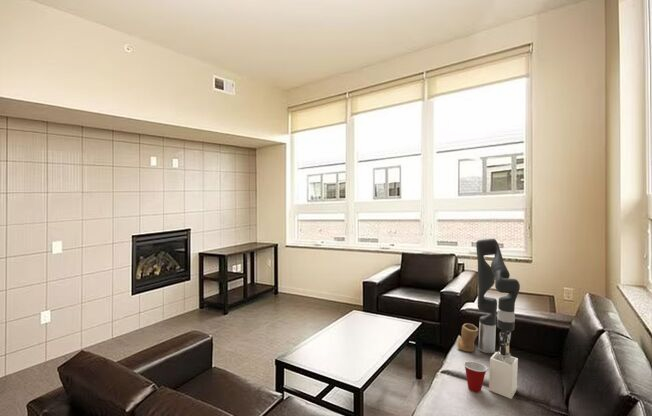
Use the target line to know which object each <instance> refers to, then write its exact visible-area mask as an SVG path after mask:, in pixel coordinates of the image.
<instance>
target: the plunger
mask: <svg viewBox="0 0 652 416" xmlns="http://www.w3.org/2000/svg"><path fill="white" fill-rule="evenodd" d="M502 345H503V344H502ZM497 352H498V355H500V356H502V357H503V358H502V362H505V363H506V358H509V357H511V356H512V354H511V353H510V344H509V345H507V344H506V355H501V354H500V352H501V347H499V350H498V351H497Z"/></svg>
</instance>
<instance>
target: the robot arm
mask: <svg viewBox="0 0 652 416" xmlns="http://www.w3.org/2000/svg"><path fill="white" fill-rule="evenodd" d="M475 246H476V247H475V248H476V259H477V286H478V287H477V288H478V289H477V309H478V310H479V311H480V312H483V313H489V314H486V315H482V316H480V317H479V322H478V323H479V324H478V325H479V327H478V350H479V351H481V352H482V353H485V354H494V353H495V352H496V330H497V328H498V329H499V330H501V331H499V335H498V347H499V348H500V347H501V352H500V354H501V355H506V344H507V345H509V346H510V342H511V337H512V331H514V330H515V323H516V321H515V319H516V316H515V315H516V314H515V310H516V309H515V306H516V305H515V303H516V300H517V298H518V295H519V292H520V289H521V288H520V287H521V285H520V282H519V281H518V279H516V278H510V275H511V274H510V272H509V270H508V267H507V265H506V263H505V262H504V258H503V254H502V252H501V249H500V248H501V247H500V245H499V242H498V241H497V240H496V239H495V238H484V239H483V238H482V239H477V240H476V245H475ZM493 255H494V257H493V259H492V261H491V264H488V262H487V261H486V259H485V256H493ZM493 286H495V290H496V291H497V292H499V293H503V294H507V295H504V296H500V297H499V298H498V300H497V299H496V298H494V297H490V296H489V297H487V296H485V294H486V293H487V292H488V291H490V289H492V287H493ZM502 344H503V345H502Z"/></svg>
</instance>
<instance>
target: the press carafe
mask: <svg viewBox="0 0 652 416" xmlns="http://www.w3.org/2000/svg"><path fill="white" fill-rule="evenodd" d="M502 358H503V357H502V356H500V355H498V351H495V352H494V353H492V356H490V358H489V376H488V377H489V379H488V391H489V392H492V393H496V394H498V395H500V396H502V397H503V396H504V397H506V398H508V399H510V400H512V399H513V397H514V395H515V393H516V392H517V386H518V364H519V359H518V357H514V356H512V355H511V357H509V358H506V363H505V362H502Z"/></svg>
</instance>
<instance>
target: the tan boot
mask: <svg viewBox="0 0 652 416" xmlns="http://www.w3.org/2000/svg"><path fill="white" fill-rule="evenodd" d="M478 336H479V327H477V326H475V325H474V324H473V323H464V324H463V325H462V326H461V337H458V338H457V344H456V347H457V348H458V349H459V350H461V351H464V352H474V350H475V340H476V339H477V337H478Z"/></svg>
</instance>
